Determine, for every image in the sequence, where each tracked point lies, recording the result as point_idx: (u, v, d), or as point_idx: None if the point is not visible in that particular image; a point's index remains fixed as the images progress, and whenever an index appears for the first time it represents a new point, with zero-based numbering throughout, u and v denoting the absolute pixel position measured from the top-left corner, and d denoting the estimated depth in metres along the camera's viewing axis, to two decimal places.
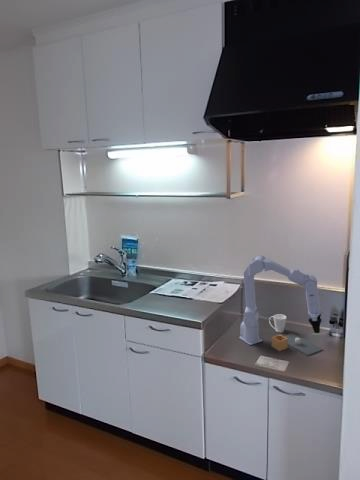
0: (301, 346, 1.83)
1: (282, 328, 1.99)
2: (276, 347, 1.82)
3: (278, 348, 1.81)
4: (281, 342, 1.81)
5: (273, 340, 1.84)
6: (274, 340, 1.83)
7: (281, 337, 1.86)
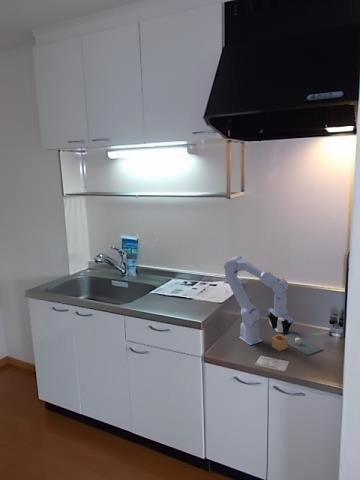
0: (301, 346, 1.83)
1: (282, 328, 1.99)
2: (276, 347, 1.82)
3: (278, 348, 1.81)
4: (281, 342, 1.81)
5: (273, 340, 1.84)
6: (274, 340, 1.83)
7: (281, 337, 1.86)
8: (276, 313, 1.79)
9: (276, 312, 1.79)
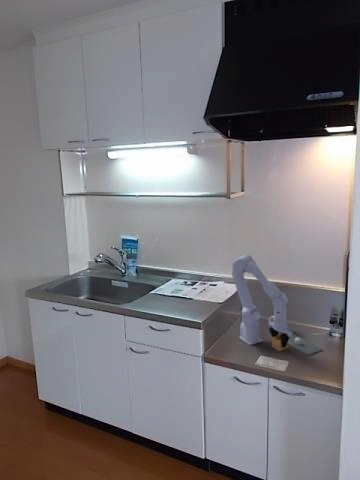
0: (301, 346, 1.83)
1: None
2: (276, 347, 1.82)
3: (278, 348, 1.81)
4: None
5: (273, 340, 1.84)
6: (274, 340, 1.83)
7: None
8: (276, 327, 1.80)
9: (276, 326, 1.80)
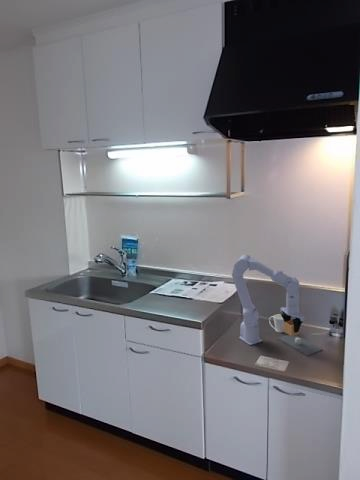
0: (301, 346, 1.83)
1: (282, 328, 1.99)
2: (288, 332, 1.82)
3: (290, 333, 1.81)
4: (293, 327, 1.80)
5: (285, 325, 1.83)
6: (286, 325, 1.82)
7: None
8: (288, 312, 1.80)
9: (288, 311, 1.80)
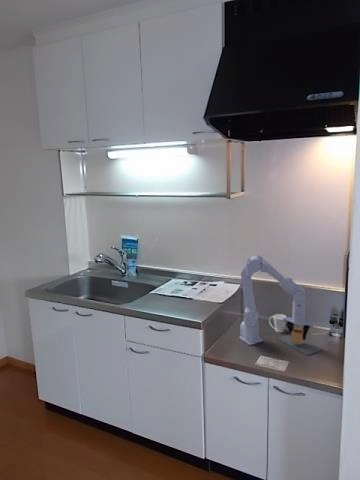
0: (301, 346, 1.83)
1: (282, 328, 1.99)
2: (297, 341, 1.83)
3: (300, 341, 1.82)
4: (302, 335, 1.82)
5: (293, 335, 1.83)
6: (294, 334, 1.83)
7: (297, 330, 1.87)
8: (297, 321, 1.81)
9: (297, 320, 1.80)
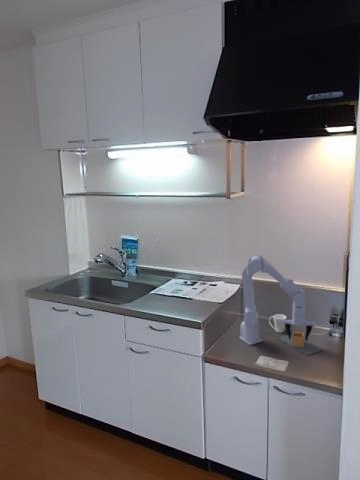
0: None
1: (282, 328, 1.99)
2: (299, 344, 1.83)
3: (302, 344, 1.82)
4: None
5: (294, 339, 1.83)
6: (296, 338, 1.83)
7: (295, 334, 1.87)
8: (299, 322, 1.80)
9: (299, 321, 1.80)
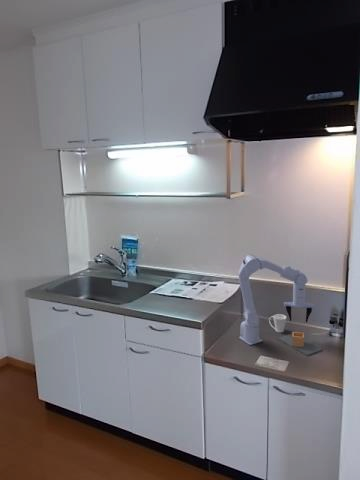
0: None
1: (282, 328, 1.99)
2: (299, 344, 1.83)
3: (302, 344, 1.82)
4: None
5: (294, 339, 1.83)
6: (296, 338, 1.83)
7: (295, 334, 1.87)
8: (299, 304, 1.86)
9: (299, 303, 1.86)
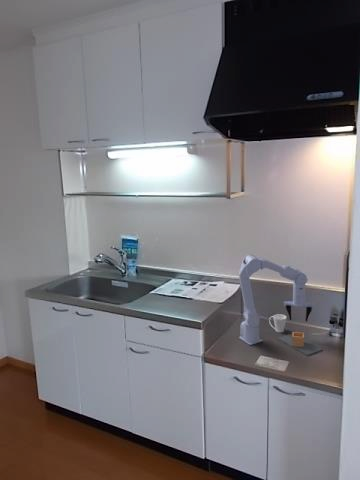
0: None
1: (282, 328, 1.99)
2: (299, 344, 1.83)
3: (302, 344, 1.82)
4: None
5: (294, 339, 1.83)
6: (296, 338, 1.83)
7: (295, 334, 1.87)
8: (299, 303, 1.87)
9: (299, 302, 1.87)
